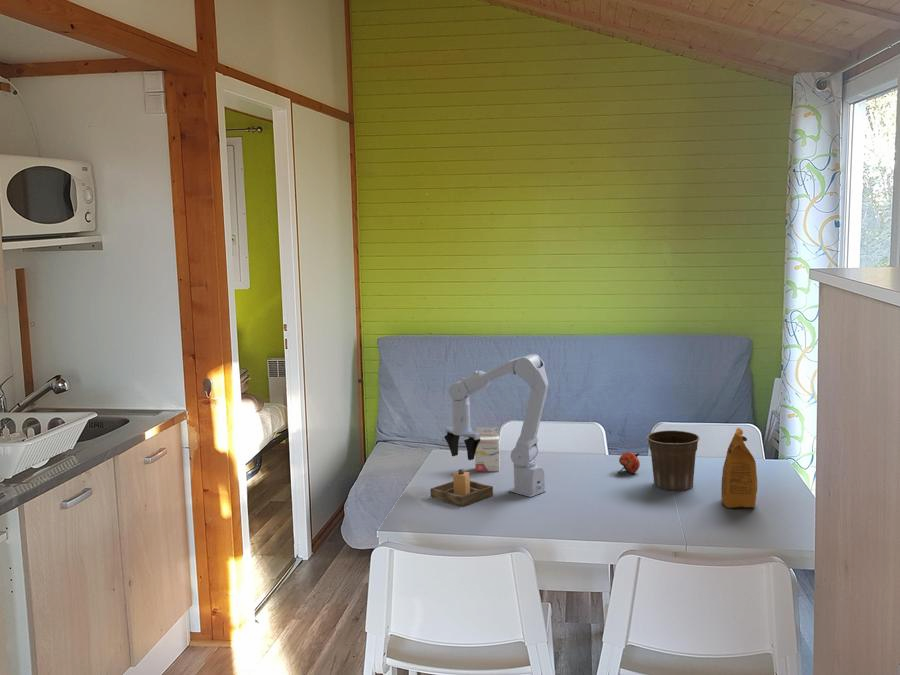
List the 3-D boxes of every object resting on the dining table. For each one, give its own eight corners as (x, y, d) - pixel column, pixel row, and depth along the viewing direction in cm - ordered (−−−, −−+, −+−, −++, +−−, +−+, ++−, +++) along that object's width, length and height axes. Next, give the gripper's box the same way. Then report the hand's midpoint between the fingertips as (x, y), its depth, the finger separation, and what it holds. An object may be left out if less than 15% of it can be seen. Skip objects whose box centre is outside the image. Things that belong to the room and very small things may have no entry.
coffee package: (755, 497, 258) (755, 426, 256) (758, 511, 247) (758, 437, 244) (720, 496, 261) (720, 426, 258) (722, 509, 249) (722, 436, 246)
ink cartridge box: (475, 472, 297) (473, 430, 295) (476, 467, 302) (474, 427, 300) (499, 471, 296) (498, 430, 294) (500, 467, 301) (499, 427, 299)
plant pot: (679, 497, 262) (679, 445, 260) (636, 485, 274) (636, 437, 272) (709, 485, 272) (709, 436, 270) (667, 475, 284) (667, 428, 282)
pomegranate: (625, 483, 285) (648, 464, 284) (611, 466, 285) (634, 447, 284) (621, 479, 292) (644, 460, 292) (608, 462, 292) (630, 444, 292)
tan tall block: (470, 493, 271) (469, 468, 270) (465, 497, 268) (464, 472, 267) (458, 492, 273) (457, 467, 272) (454, 496, 269) (453, 471, 268)
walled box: (493, 495, 270) (492, 486, 270) (461, 506, 260) (461, 497, 260) (461, 487, 280) (461, 478, 280) (430, 497, 270) (430, 488, 270)
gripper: (485, 418, 277) (487, 458, 278) (454, 412, 287) (456, 451, 289) (470, 422, 272) (472, 463, 274) (439, 416, 282) (441, 455, 284)
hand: (462, 457), depth 281 cm, fingers open, 7 cm apart
